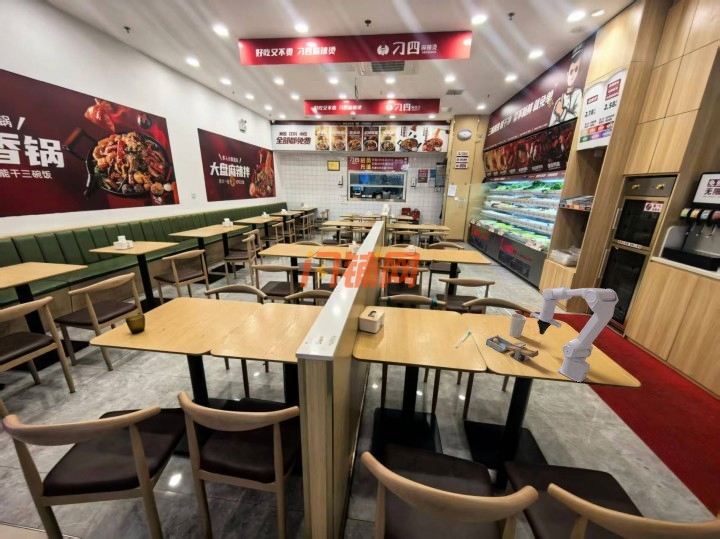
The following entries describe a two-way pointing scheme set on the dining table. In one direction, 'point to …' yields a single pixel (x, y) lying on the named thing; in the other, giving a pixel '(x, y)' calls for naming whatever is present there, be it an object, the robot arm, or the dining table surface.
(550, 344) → the dining table surface
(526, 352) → the seesaw
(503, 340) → the tray
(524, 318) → the cup
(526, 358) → the stand
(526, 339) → the dining table surface
